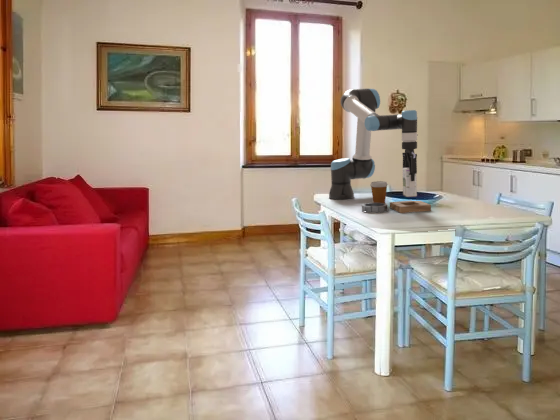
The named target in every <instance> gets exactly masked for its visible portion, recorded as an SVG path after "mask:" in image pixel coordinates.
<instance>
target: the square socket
mask: <svg viewBox="0 0 560 420" xmlns="http://www.w3.org/2000/svg"><path fill="white" fill-rule="evenodd" d="M389 208H390V209H391V210H394V211H396V212H398V213H400V214H404V213H406V214H407V213H417V212H419V213H420V212H431V211H432V204H431V203H427V202H425V201H422V200H420V201H412V200H403V201H389Z"/></svg>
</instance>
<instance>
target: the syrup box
mask: <svg viewBox="0 0 560 420" xmlns="http://www.w3.org/2000/svg"><path fill="white" fill-rule="evenodd" d="M409 173H410V170H409V167H406V168H403V167H402V195H403V197H406V198H410V197H411V198H412V197H413V198H414V197H417V196H418V193H417V191H418V190H417V186H418V184H417V174H415V187H411V188H409Z"/></svg>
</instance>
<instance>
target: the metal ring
mask: <svg viewBox="0 0 560 420" xmlns="http://www.w3.org/2000/svg"><path fill="white" fill-rule="evenodd" d="M387 210H388V203H386V202H385V203H373V202H366V203H362V204H361V212H363V211H366V212H365V213H367V212H380V213H385V212H384V211H386V212H388V211H387Z"/></svg>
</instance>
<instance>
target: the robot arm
mask: <svg viewBox="0 0 560 420" xmlns="http://www.w3.org/2000/svg"><path fill="white" fill-rule="evenodd" d="M380 97H381V96H380V94H379V92H378V90H377V89H375V88H351V89H348V90H346V91H345V92H344V93H343V94H342V95H341V97H340V106H341V107H342V109H343V110H345V111H346V112H347V113H351V114H353V116H355V117H356V118H357V121H356V136H355V149H354V150H355V153H354V154H353V155H352V157H351V158H352V159H351V158H349V157H345V158H339V159H335V160H332V162H330V173H331V175H330V177H331V186H330V190H329V193H328V198H329V199H332V200H349V199H353V198H354V197H355V193H354V190H353V187H352V185H351V184H352V183H351V182H352V181H351V180H360V179H363V180H365V179H367V178H368V179H369V178H371V177H372V176H373V175H374V173H375V171H376V164H375V161H374V159H373V157H372V156H371V155H370V151H371V142H372V141H371V139H372V138H371V137H372V132H376V131H378V132H379V131H391V130H401V141H402V142H401V149H402V150H404V152H402V169H403V168H406V167H409V170H410V173H409V188H411V187H415V174H416V175H417V174H418V168H417V167H418V163H417V161H418V160H417V159H418V158H417V157H418V155H417V153H415V150H416V149H418V141H417V140H418V135H419V134H418V111H417V110H416V109H411V110H407V109H406V110H402V111H401V114H397V113H396V114H386V115H384V114H382V115H380V114H378V113H376V110H377V109H378V108H379V107H380V104H381V98H380Z"/></svg>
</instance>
